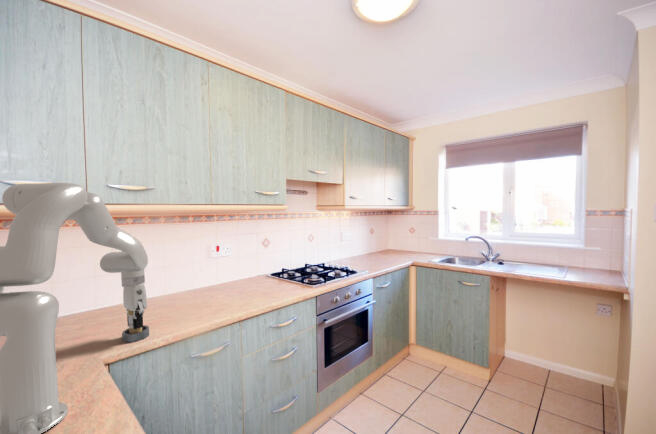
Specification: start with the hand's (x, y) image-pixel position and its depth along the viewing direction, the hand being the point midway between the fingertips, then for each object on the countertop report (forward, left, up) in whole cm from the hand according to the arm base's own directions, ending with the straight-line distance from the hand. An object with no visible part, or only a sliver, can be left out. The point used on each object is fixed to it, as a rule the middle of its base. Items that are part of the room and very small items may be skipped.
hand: (135, 326), depth 112 cm
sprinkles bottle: (0, 0, -4) cm, 4 cm away
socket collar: (0, 0, -5) cm, 5 cm away
